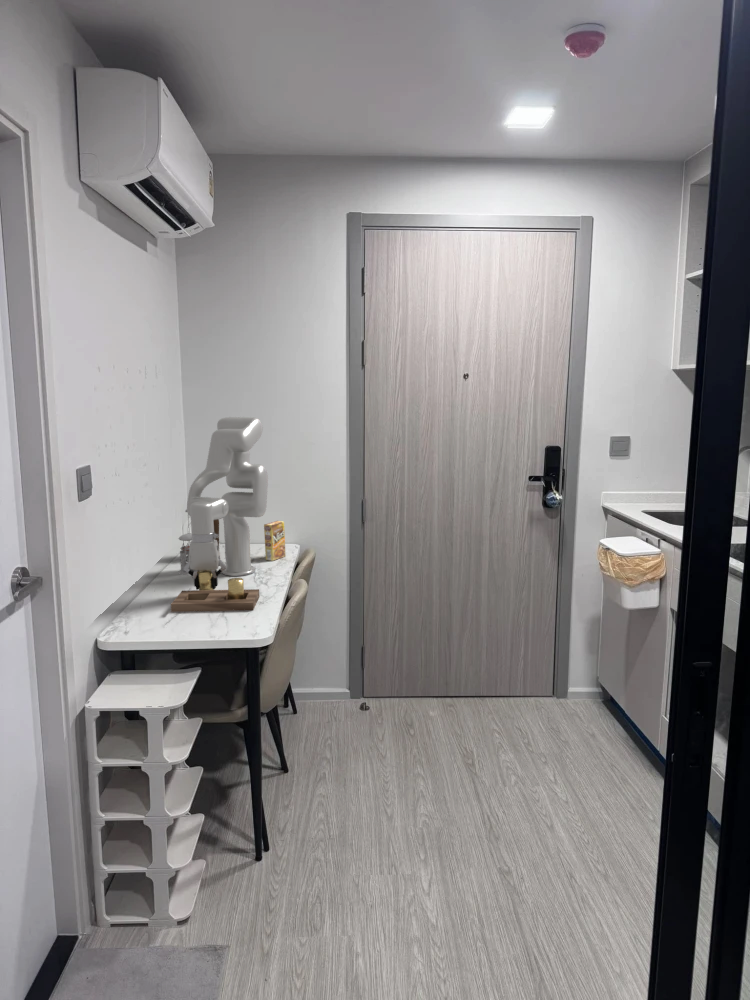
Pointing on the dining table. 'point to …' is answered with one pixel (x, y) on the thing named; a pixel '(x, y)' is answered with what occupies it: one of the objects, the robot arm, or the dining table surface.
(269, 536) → the candy box
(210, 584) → the billet
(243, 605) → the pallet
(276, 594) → the dining table surface
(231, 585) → the seated billet
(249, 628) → the dining table surface
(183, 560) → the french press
